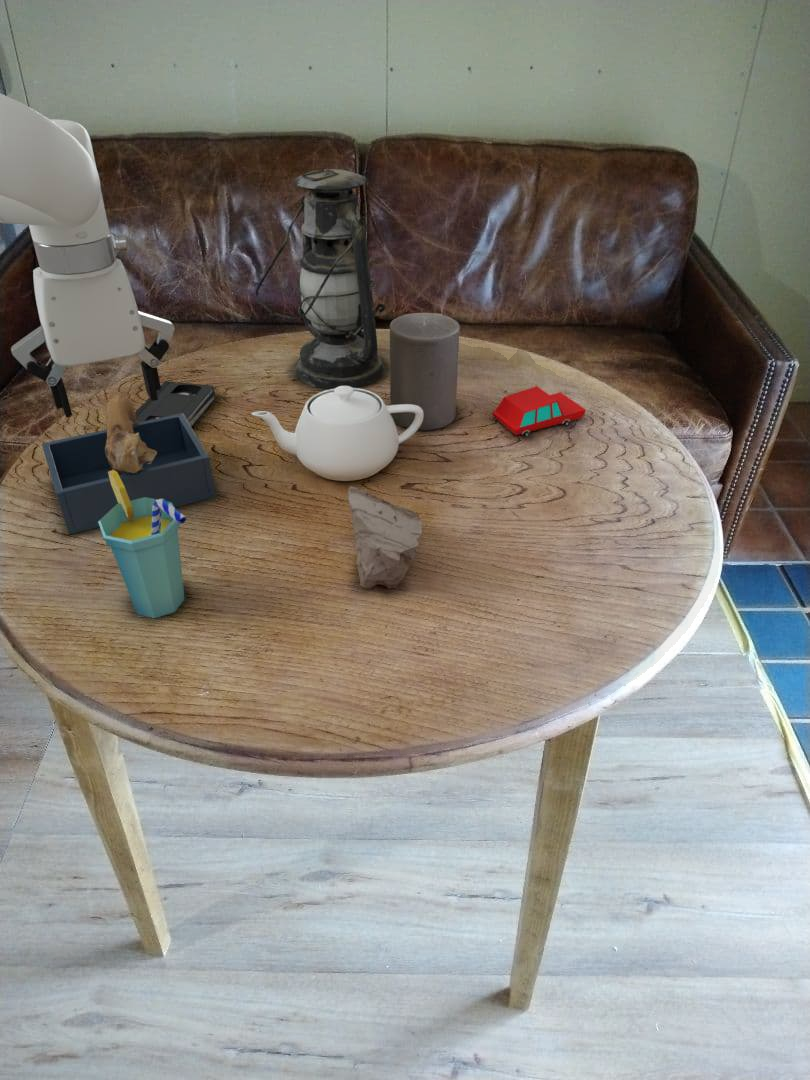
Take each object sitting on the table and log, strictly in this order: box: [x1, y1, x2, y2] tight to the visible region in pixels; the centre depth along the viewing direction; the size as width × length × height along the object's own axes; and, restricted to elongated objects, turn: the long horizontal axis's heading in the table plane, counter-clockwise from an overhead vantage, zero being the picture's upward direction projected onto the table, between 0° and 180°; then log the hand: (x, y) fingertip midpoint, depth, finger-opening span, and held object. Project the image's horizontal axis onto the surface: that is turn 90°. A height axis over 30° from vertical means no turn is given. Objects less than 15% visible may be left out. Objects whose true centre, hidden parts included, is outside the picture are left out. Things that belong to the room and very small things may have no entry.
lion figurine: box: [105, 394, 157, 475], centre depth 95 cm, size 15×5×9 cm, turn 26°
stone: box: [347, 485, 423, 589], centre depth 87 cm, size 15×9×10 cm
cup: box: [98, 470, 187, 619], centre depth 78 cm, size 14×8×15 cm, turn 50°
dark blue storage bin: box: [41, 413, 217, 535], centre depth 99 cm, size 18×13×6 cm
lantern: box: [255, 168, 386, 390], centre depth 118 cm, size 19×19×30 cm
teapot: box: [251, 386, 424, 482], centre depth 102 cm, size 22×14×11 cm, turn 101°
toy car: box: [491, 385, 587, 437], centre depth 114 cm, size 6×12×4 cm, turn 117°
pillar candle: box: [389, 312, 461, 431], centre depth 112 cm, size 10×10×15 cm
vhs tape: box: [135, 380, 216, 428], centre depth 115 cm, size 14×8×2 cm, turn 169°
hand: (110, 404), depth 93 cm, fingers open, 9 cm apart
